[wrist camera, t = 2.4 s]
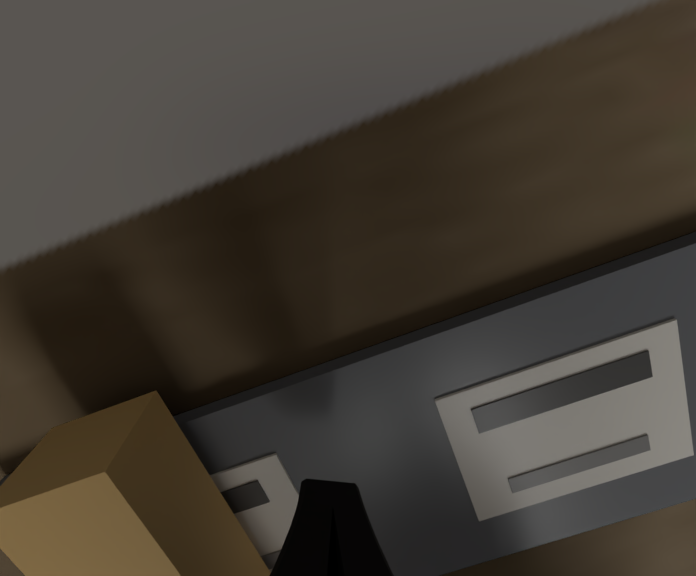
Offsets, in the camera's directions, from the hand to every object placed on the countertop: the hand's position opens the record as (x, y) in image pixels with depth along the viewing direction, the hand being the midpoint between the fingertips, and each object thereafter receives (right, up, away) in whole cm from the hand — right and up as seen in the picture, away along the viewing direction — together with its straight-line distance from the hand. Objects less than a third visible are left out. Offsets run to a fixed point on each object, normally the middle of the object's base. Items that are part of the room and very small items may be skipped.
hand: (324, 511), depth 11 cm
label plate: (+2, -1, +4) cm, 5 cm away
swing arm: (-4, -4, +4) cm, 6 cm away
